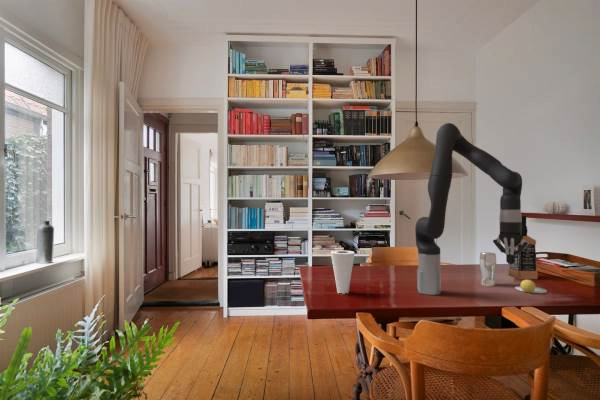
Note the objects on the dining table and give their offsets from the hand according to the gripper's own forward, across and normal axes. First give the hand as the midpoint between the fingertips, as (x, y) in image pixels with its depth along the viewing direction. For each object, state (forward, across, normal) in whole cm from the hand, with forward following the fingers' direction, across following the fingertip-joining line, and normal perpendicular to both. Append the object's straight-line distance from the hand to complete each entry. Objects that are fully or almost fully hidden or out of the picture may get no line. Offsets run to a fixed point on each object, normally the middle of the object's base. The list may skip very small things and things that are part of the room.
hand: (510, 263), depth 138 cm
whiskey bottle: (+15, +10, -52) cm, 55 cm away
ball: (+12, 0, -20) cm, 24 cm away
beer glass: (+15, +17, -22) cm, 32 cm away
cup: (+15, +55, +39) cm, 69 cm away
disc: (+15, 0, -26) cm, 30 cm away
